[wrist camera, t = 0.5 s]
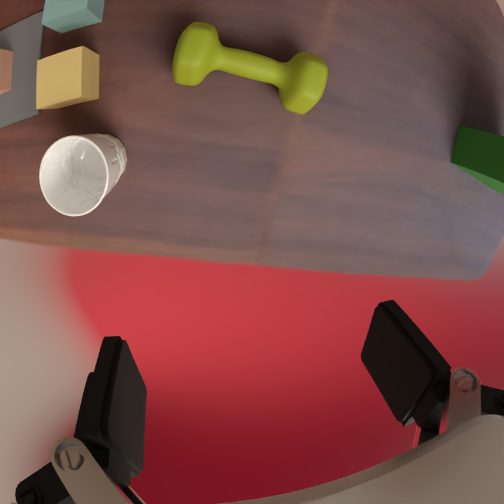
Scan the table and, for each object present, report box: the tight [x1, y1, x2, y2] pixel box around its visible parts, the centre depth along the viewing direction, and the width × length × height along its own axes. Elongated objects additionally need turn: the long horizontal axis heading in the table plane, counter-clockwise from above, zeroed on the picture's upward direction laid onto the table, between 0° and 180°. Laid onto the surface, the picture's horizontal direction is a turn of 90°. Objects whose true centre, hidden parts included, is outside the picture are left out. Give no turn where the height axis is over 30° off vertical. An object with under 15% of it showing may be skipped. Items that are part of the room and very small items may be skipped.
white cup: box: [39, 134, 127, 216], centre depth 26 cm, size 8×8×10 cm
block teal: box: [41, 0, 105, 34], centre depth 18 cm, size 6×6×6 cm
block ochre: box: [36, 46, 100, 109], centre depth 23 cm, size 6×6×6 cm
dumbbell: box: [172, 22, 328, 114], centre depth 26 cm, size 16×8×7 cm, turn 74°
